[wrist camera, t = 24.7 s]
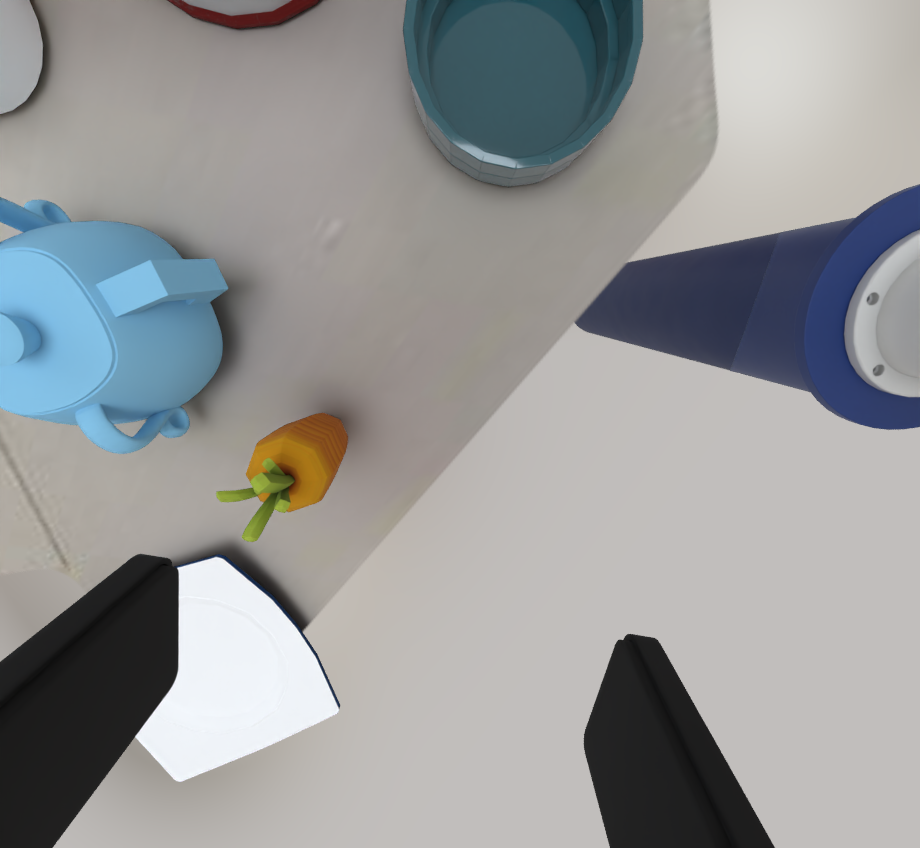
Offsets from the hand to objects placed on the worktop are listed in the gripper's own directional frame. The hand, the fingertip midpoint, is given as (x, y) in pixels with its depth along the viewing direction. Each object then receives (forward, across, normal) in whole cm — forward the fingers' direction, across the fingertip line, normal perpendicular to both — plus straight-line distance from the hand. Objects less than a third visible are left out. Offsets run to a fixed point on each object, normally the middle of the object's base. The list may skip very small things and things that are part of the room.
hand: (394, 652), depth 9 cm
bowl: (+27, -1, -22) cm, 34 cm away
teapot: (+26, +23, -1) cm, 35 cm away
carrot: (+27, +8, +4) cm, 28 cm away
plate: (+26, +17, +29) cm, 43 cm away
